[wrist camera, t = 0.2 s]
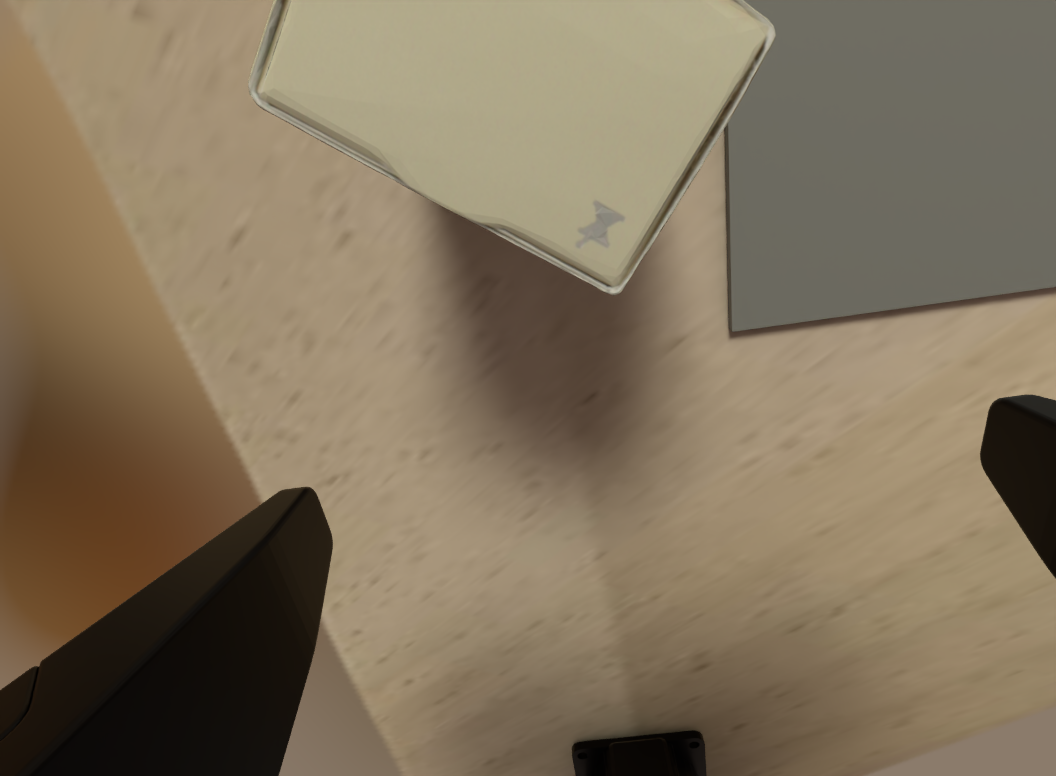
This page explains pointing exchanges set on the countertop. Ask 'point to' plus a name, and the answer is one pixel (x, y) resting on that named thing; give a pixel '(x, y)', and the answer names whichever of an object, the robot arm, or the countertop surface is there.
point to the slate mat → (892, 158)
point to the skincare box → (522, 107)
